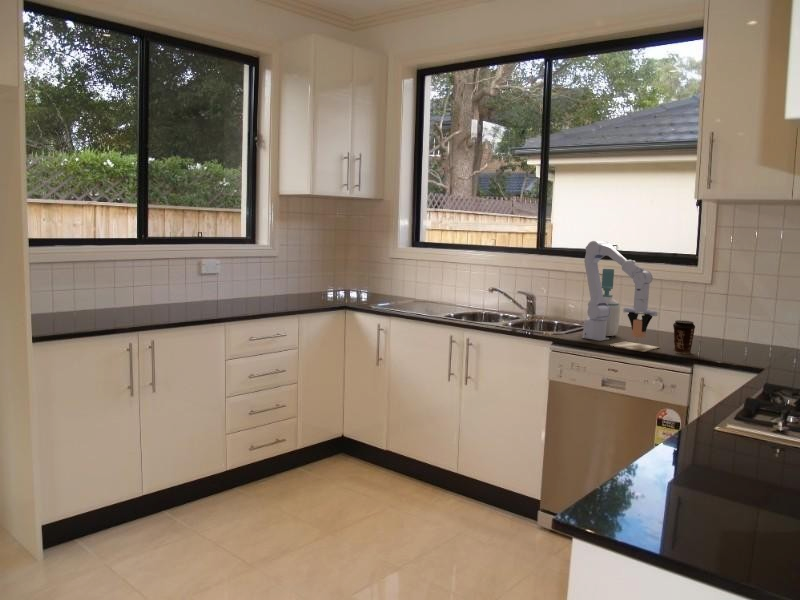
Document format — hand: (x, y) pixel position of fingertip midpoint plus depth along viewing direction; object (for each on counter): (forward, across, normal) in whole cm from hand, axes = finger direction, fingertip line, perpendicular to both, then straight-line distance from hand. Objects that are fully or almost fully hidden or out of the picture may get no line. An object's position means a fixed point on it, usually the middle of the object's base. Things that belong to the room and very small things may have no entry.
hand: (638, 330), depth 294 cm
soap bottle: (+7, +24, -14) cm, 29 cm away
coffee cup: (+7, -18, -3) cm, 20 cm away
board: (+7, 0, +3) cm, 7 cm away
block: (+2, 0, 0) cm, 3 cm away
